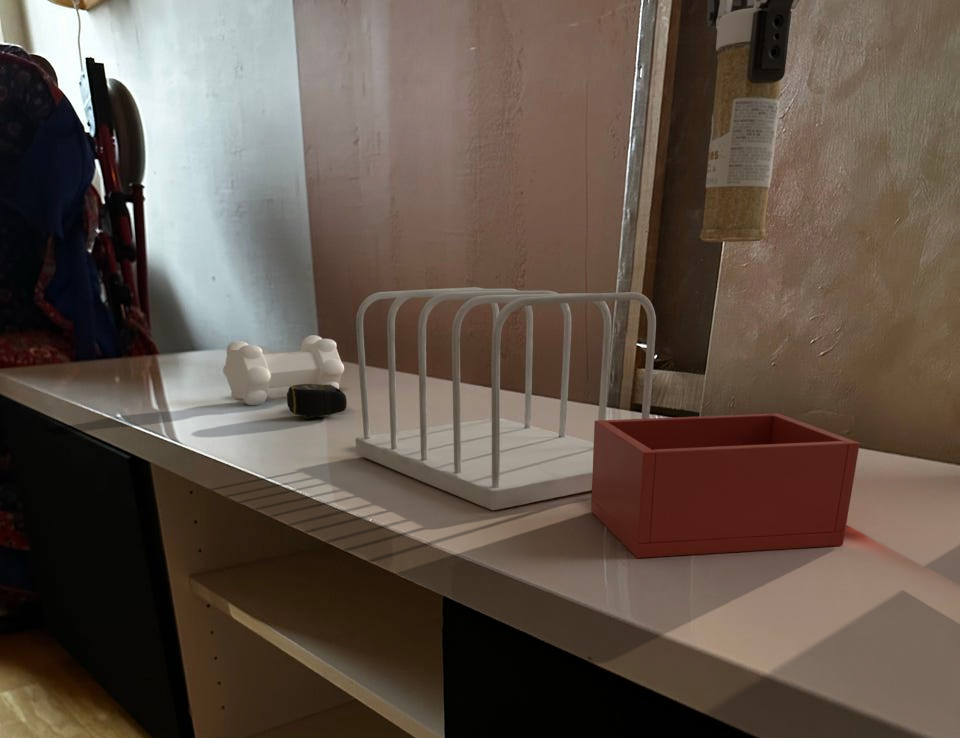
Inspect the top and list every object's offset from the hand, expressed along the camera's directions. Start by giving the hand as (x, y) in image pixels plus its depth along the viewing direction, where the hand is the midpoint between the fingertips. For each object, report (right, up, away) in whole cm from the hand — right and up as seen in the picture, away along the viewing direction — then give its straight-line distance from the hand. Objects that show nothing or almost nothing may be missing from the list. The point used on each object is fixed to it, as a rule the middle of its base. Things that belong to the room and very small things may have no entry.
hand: (748, 87), depth 58 cm
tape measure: (-38, -9, +52) cm, 65 cm away
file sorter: (-16, -21, +24) cm, 36 cm away
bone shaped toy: (-45, -3, +65) cm, 79 cm away
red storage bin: (-1, -29, +6) cm, 29 cm away
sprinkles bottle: (0, -9, +4) cm, 10 cm away
